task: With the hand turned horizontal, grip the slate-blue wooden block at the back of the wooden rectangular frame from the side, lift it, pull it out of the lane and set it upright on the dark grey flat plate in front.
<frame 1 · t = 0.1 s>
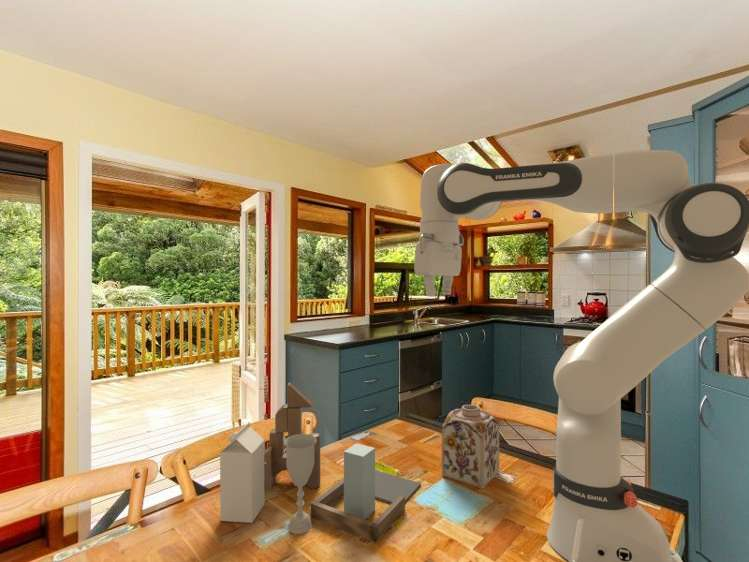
hand: (438, 295, 93), 48 cm above the table, tool pointing down, fingers open, 8 cm apart
wooden rectangular frame: (358, 513, 88), on the table
wooden toy: (290, 483, 101), on the table
milk carton: (243, 514, 88), on the table
dark grey flat plate: (385, 487, 99), on the table
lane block: (359, 512, 89), on the table
decorative jar: (470, 474, 106), on the table
chalice: (300, 527, 84), on the table
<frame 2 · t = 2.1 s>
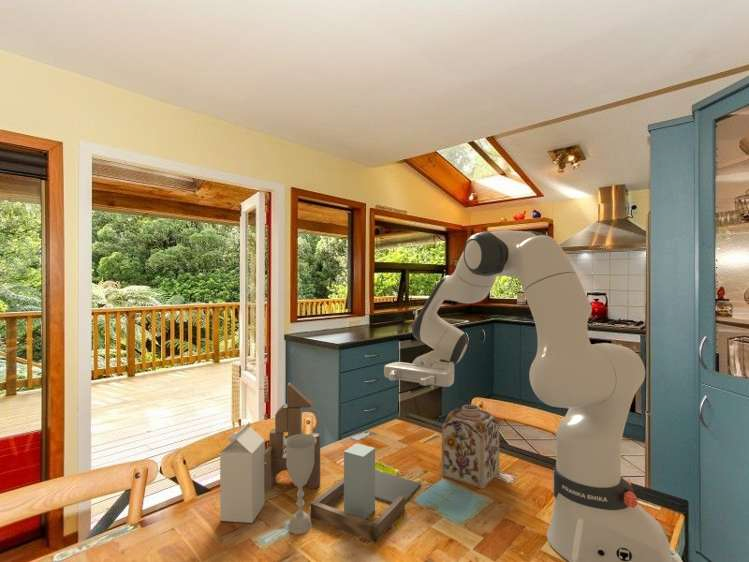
hand: (406, 379, 109), 24 cm above the table, tool horizontal, fingers open, 8 cm apart
nothing on the table moved.
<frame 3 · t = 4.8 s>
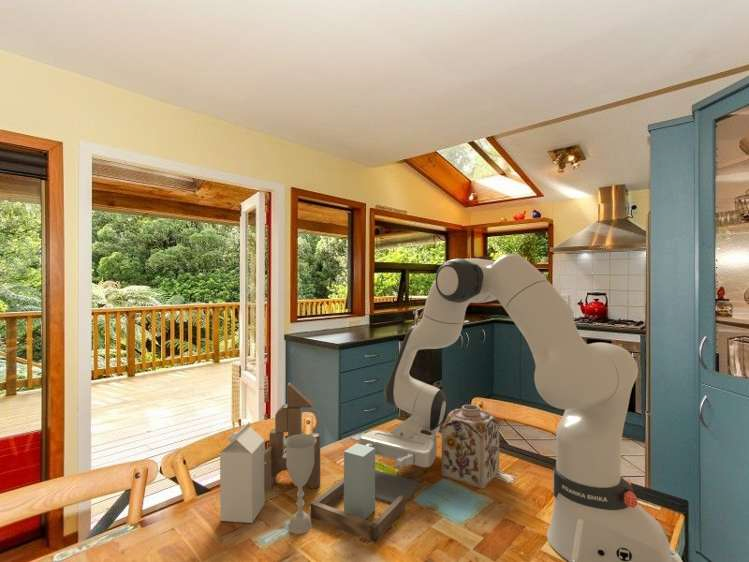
hand: (381, 459, 97), 8 cm above the table, tool horizontal, fingers open, 8 cm apart
nothing on the table moved.
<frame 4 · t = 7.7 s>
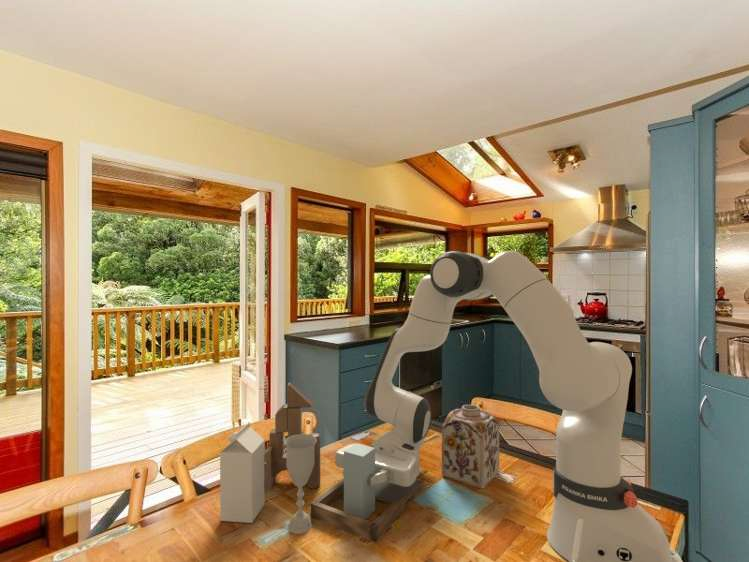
hand: (357, 478, 88), 8 cm above the table, tool horizontal, fingers closed on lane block, 5 cm apart
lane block: (359, 512, 89), on the table, touching gripper
everything else where it was.
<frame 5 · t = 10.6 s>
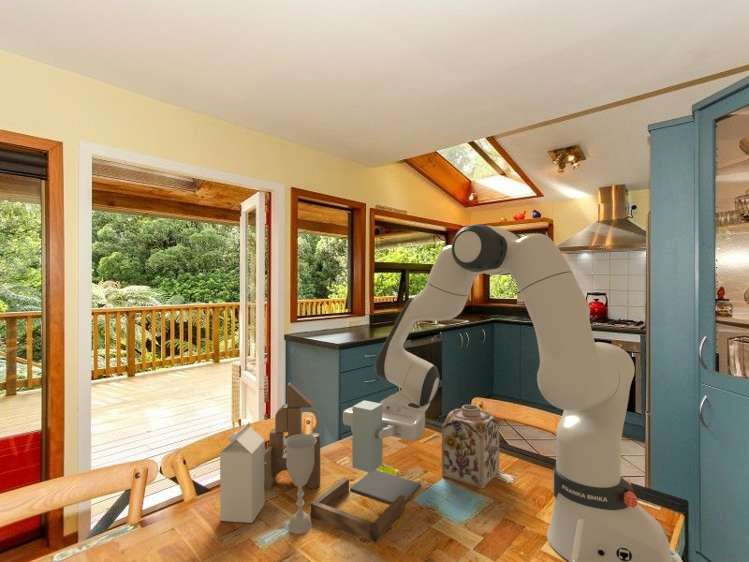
hand: (365, 432, 91), 17 cm above the table, tool horizontal, fingers closed on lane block, 5 cm apart
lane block: (367, 465, 91), point 9 cm above the table, touching gripper
everything else where it was.
when the fingers open (9 cm above the table, at t = 13.8 s): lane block stays where it is, resting on dark grey flat plate.
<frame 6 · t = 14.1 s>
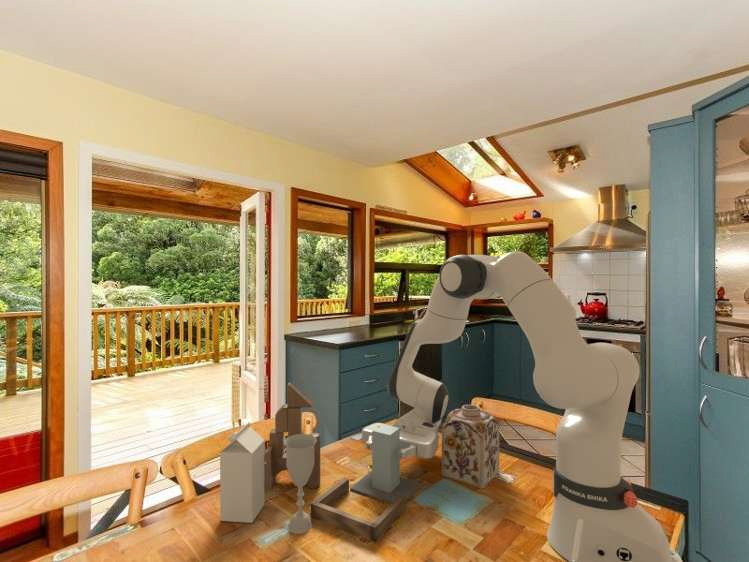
hand: (384, 450, 98), 9 cm above the table, tool horizontal, fingers open, 8 cm apart
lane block: (386, 485, 99), resting on dark grey flat plate
everything else where it was.
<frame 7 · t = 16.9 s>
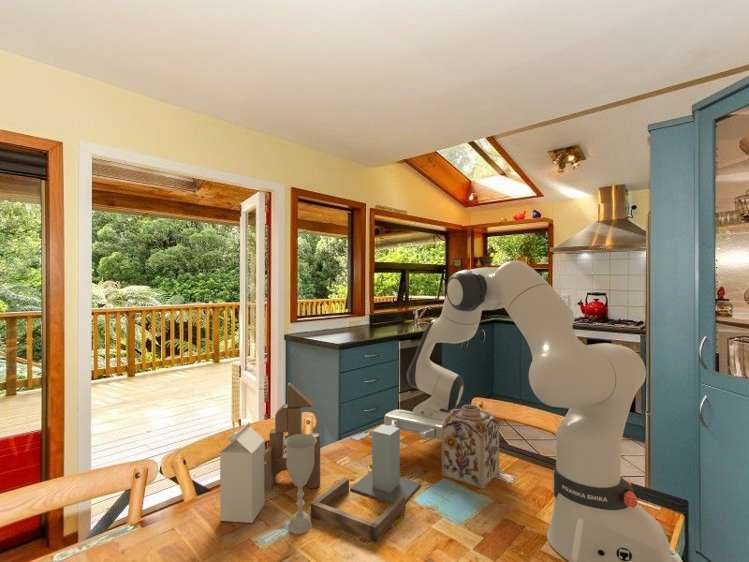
hand: (406, 433, 109), 10 cm above the table, tool horizontal, fingers open, 8 cm apart
nothing on the table moved.
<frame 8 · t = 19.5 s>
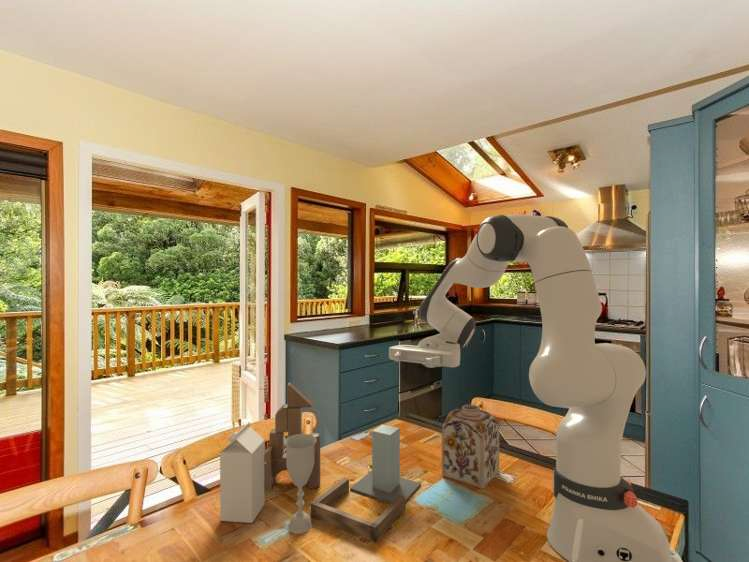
hand: (411, 360, 107), 30 cm above the table, tool horizontal, fingers open, 8 cm apart
nothing on the table moved.
at the end: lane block inside the target area (0.0 cm from its centre), point 0.5 cm above the table; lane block tilted 0°; the gripper is holding nothing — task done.
